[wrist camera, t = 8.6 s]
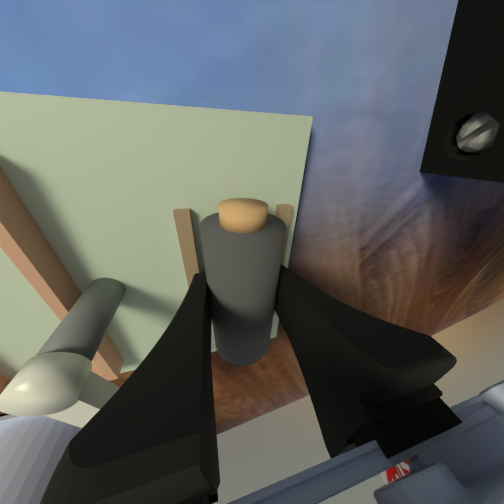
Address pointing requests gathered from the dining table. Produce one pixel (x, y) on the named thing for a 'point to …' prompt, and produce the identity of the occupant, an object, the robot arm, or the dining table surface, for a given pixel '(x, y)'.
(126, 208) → the board
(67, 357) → the lever handle
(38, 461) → the robot arm
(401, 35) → the dining table surface
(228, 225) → the grey cylinder
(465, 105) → the electrical component
